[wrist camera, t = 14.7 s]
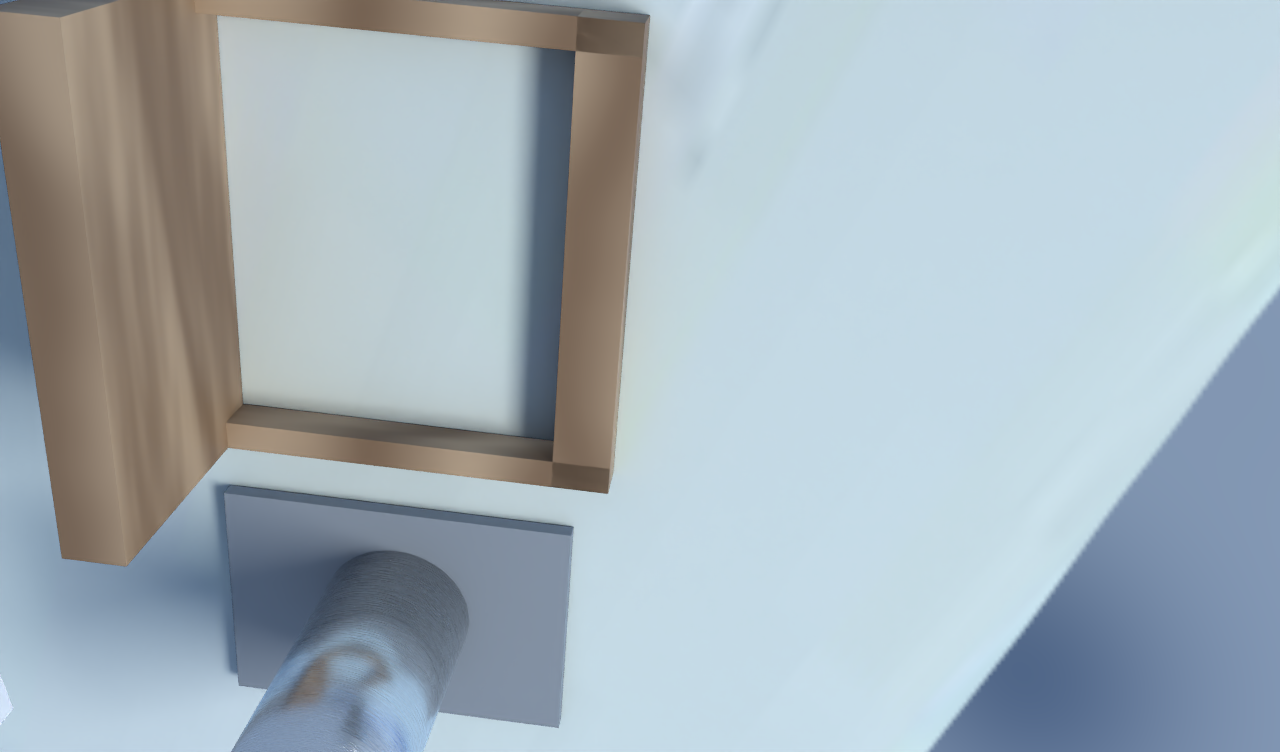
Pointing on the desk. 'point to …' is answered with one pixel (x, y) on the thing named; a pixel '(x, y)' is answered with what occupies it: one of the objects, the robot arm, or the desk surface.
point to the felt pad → (454, 542)
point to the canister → (366, 662)
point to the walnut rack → (203, 256)
